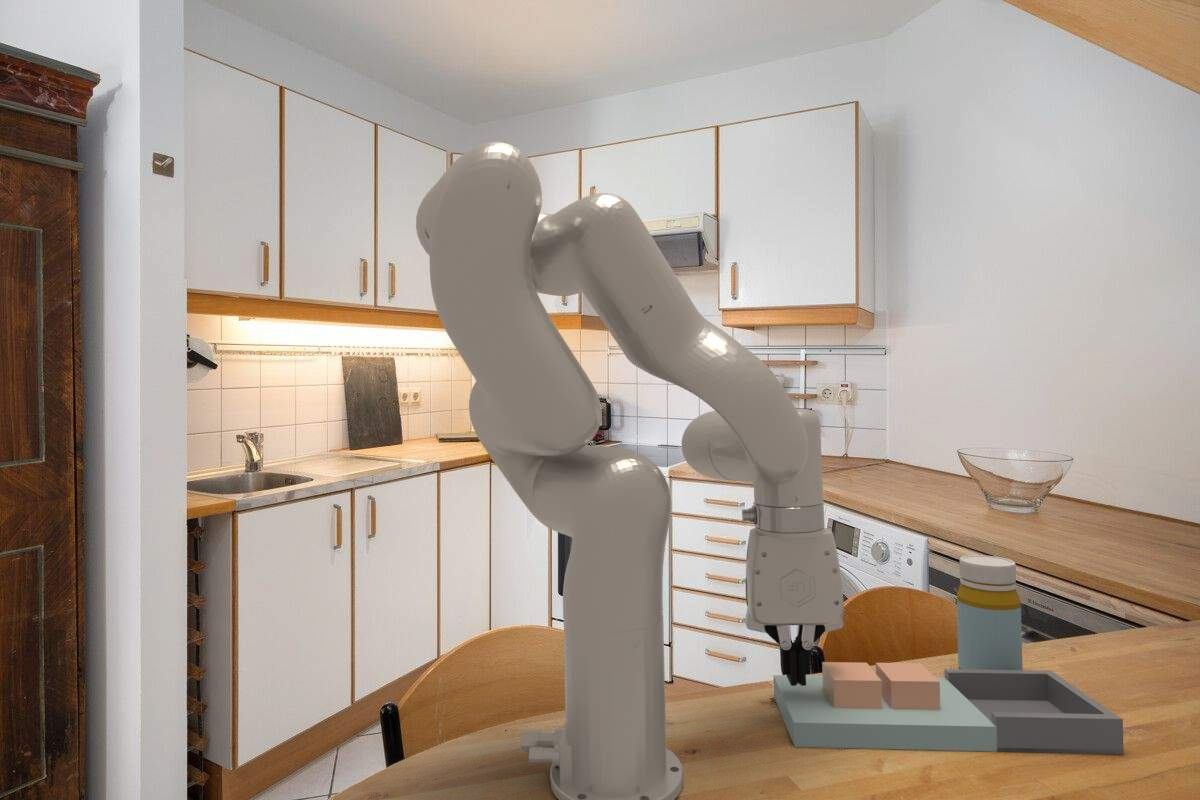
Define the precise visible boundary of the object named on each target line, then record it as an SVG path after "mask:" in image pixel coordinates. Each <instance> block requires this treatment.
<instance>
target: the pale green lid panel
mask: <svg viewBox="0 0 1200 800" xmlns="http://www.w3.org/2000/svg"><path fill="white" fill-rule="evenodd" d="M772 676H773V677H772V678H773V697H774V699H775V702H776V705H777V707H778V710H779V712H780V715H781V716H782V720H783V721H784V722H783V723H784V725H785V727H786V729H787V732H788V735H789V736H790V739H791V742H792V744H793V747H794V748H827V749H829V748H830V749H831V748H833V749H869V750H870V749H871V750H874V749H875V750H880V749H881V750H909V751H910V750H911V751H912V750H913V751H916V750H918V751H921V750H922V751H951V752H952V751H957V752H958V751H961V752H966V751H967V752H997V727H996V726H995V725H994V724H993V723H992V722H991V721H990V720H989V719H988V718H987V717H986V716H985V715H984V714H983V713H982V712H980V711H979V710H978V709H977V708H976V707H975V706H974V705H973V704H972V703H971V702H970V701H969V700H968V699H967V698H966V697H965V696H964V695H963V694H961V693H960V692H959V691H958V690H957V689H956V688H955V687H954V686H953V685H952V684H951V683H950V682H949V681H948V680H947V679H946V678H945V677H939V676H938V677H937V676H934V677H935V678H936V679H937V680H938V681H939V682H940V710H919V709H891V707H890V706H889V705H888V703H887V702H886V701H885V699H884V698H883V697H882V709H864V708H834V706H833V705H832V703H831V701H830V699H829V698H828V696H827V694H826V693H825V691H824V689H823V675H806V686H801V685H800V684H799V683H798V684H796V686H791V684H790V682H789V680H788V678H787V675H783V674H781V675H780V674H773V675H772Z"/></svg>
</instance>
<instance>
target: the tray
mask: <svg viewBox="0 0 1200 800" xmlns="http://www.w3.org/2000/svg"><path fill="white" fill-rule="evenodd" d="M943 672H944V678H946V679H947V680H948V681H949V682H950V683H951V684H952V685H953V686H954V687H955V688H956V689H957V690H958V691H959V692H960V693H961V694H963V695H964V696H965V697H966V698H967V699H968V700H969V701H970V702H971V703H972V704H973V705H974V706H975V707H976V708H977V709H978V710H979V711H980V712H982V713H983V714H984V715H985V716H986V717H987V718H988V719H989V720H990V721H991V722H992V723H993V724H994V725H995V726H996V727H997V752H1000V753H1001V752H1002V753H1044V754H1046V753H1047V754H1082V755H1083V754H1087V755H1088V754H1089V755H1091V754H1092V755H1093V754H1094V755H1124V753H1125V752H1124V747H1125V746H1124V721H1123V719H1124V718H1122V717H1120V716H1118V715H1117V714H1116V713H1114V712H1113V711H1112V710H1110V709H1109V708H1107V707H1106V706H1104V705H1103V704H1101V703H1099V702H1098V701H1096V700H1095V699H1094V698H1092V697H1090V696H1089V695H1088V694H1087V693H1085V692H1083V691H1082V690H1080V689H1079V688H1077V687H1076V686H1075V685H1073V684H1072V683H1070V682H1068V681H1067V680H1065V679H1064V678H1063V677H1061V676H1059V675H1058V674H1056V672H1053V671H1052V670H1045V669H1044V670H1043V669H1042V670H1040V669H1039V670H1036V669H1034V670H1033V669H1032V670H1031V669H1024V670H973V669H959V668H956V669H955V668H944V671H943Z"/></svg>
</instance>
